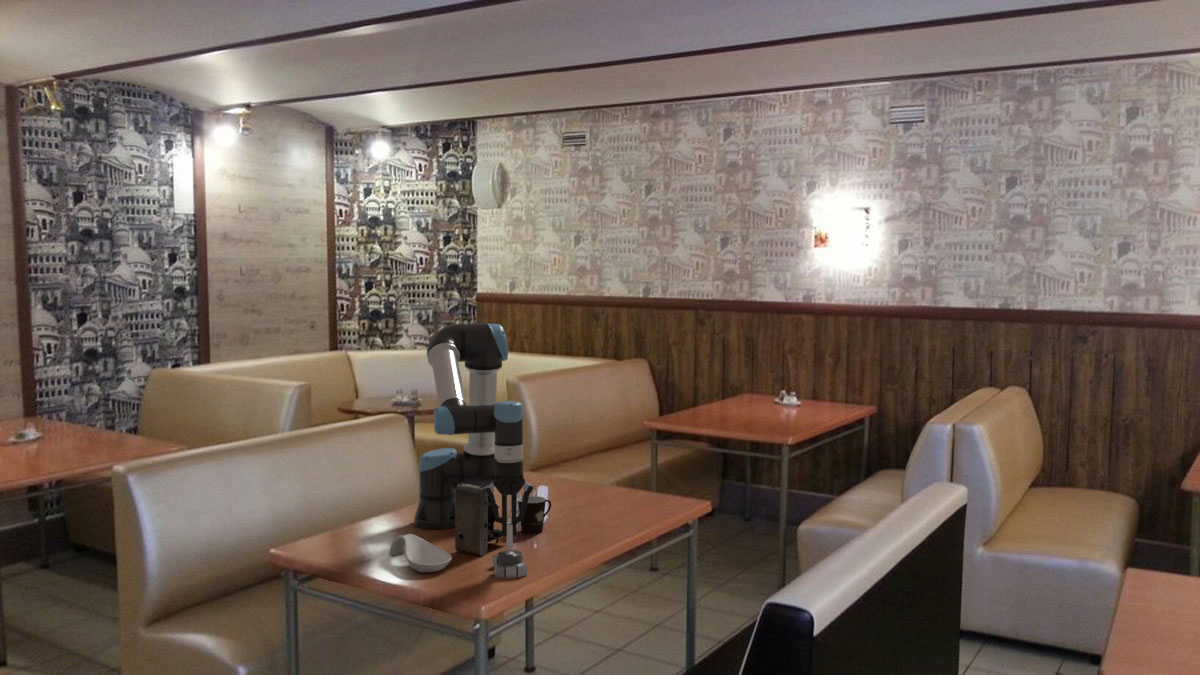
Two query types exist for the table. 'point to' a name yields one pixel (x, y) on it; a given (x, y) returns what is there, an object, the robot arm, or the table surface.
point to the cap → (509, 557)
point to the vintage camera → (474, 520)
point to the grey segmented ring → (509, 569)
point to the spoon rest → (420, 553)
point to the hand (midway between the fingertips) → (509, 547)
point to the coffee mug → (534, 514)
